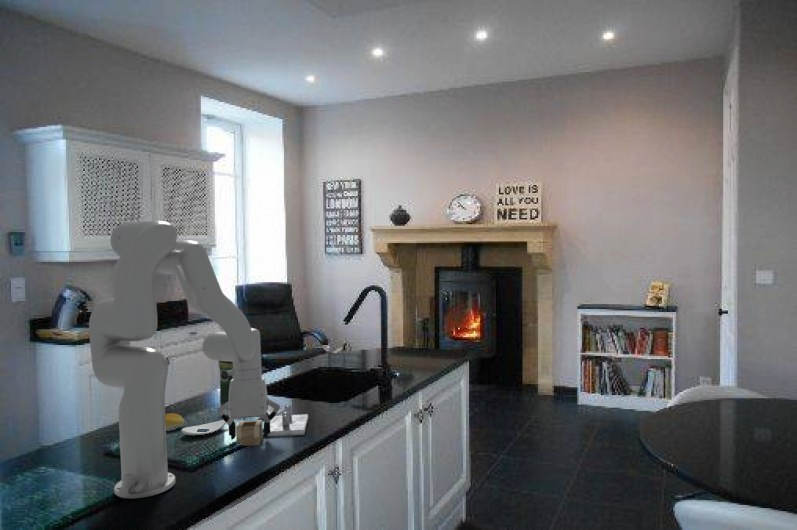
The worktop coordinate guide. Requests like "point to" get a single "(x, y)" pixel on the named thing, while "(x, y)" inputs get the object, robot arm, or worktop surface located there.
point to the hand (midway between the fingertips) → (250, 436)
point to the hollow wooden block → (249, 432)
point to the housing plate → (290, 430)
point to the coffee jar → (225, 380)
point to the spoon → (217, 425)
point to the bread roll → (173, 420)
